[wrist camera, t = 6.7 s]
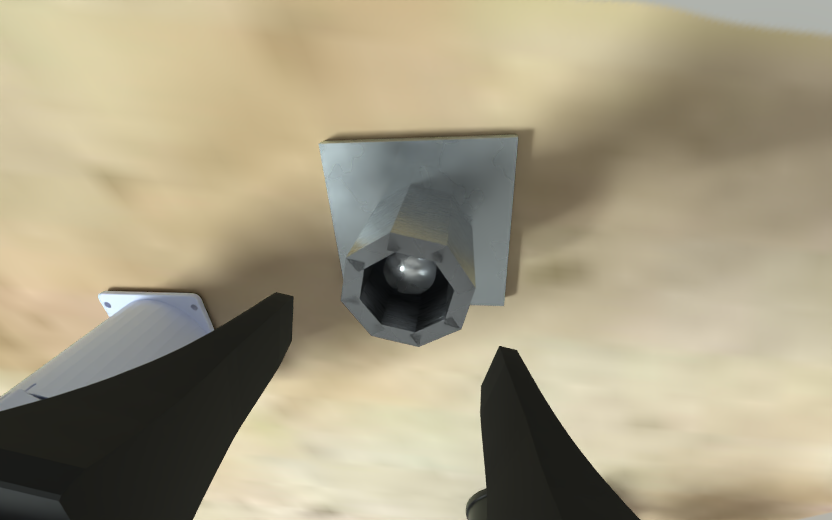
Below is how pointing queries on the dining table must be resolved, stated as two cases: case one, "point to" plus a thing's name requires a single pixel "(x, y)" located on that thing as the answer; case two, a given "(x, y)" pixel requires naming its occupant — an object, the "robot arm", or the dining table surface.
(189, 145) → the dining table surface
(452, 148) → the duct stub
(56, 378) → the robot arm
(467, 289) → the collar
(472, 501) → the french press
